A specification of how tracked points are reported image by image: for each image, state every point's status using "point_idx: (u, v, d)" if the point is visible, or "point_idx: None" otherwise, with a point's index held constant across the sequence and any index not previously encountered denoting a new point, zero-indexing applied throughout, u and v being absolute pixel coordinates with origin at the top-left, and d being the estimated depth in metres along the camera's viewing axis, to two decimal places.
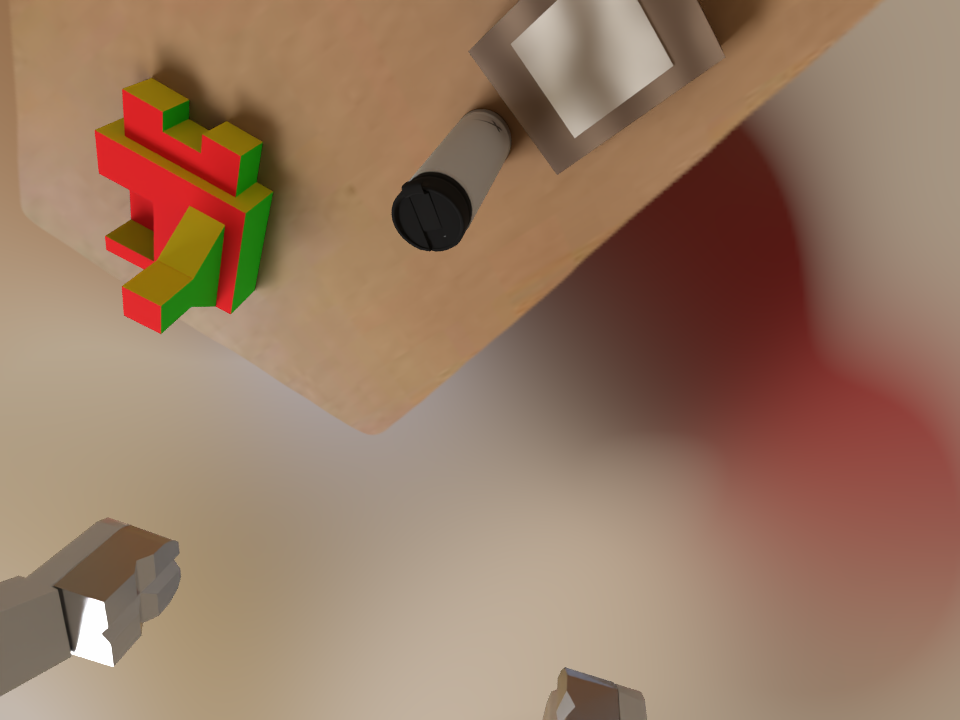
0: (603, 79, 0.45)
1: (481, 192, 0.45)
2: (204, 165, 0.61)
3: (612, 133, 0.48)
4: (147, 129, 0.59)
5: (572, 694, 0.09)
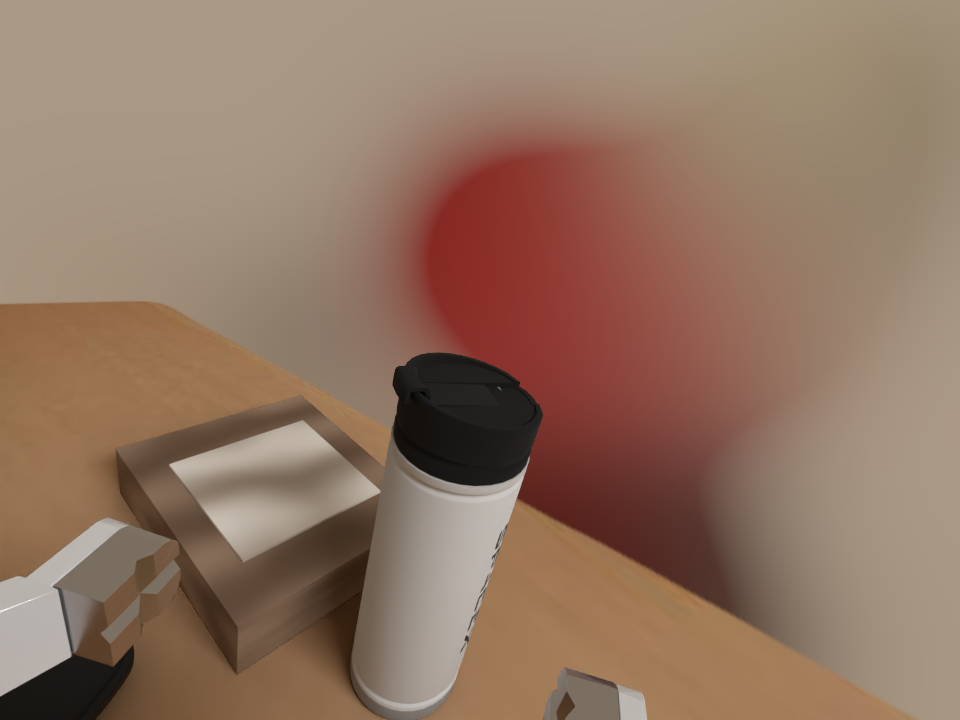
0: (309, 466, 0.37)
1: None
2: None
3: (373, 460, 0.39)
4: None
5: (572, 694, 0.09)
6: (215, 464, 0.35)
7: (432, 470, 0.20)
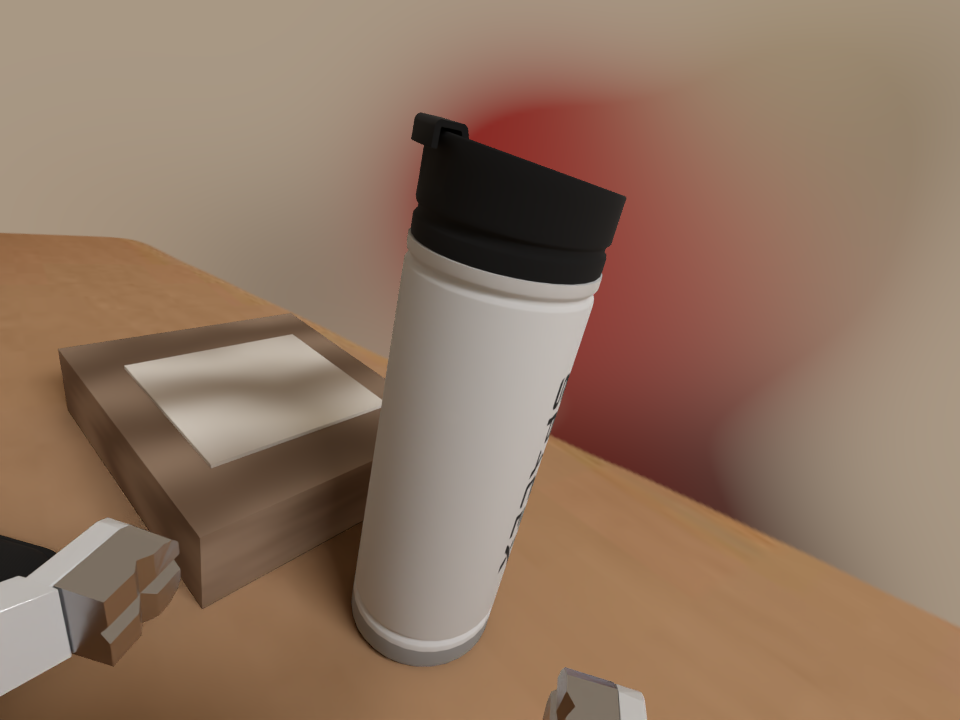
0: (299, 376, 0.30)
1: None
2: None
3: (376, 375, 0.33)
4: None
5: (572, 694, 0.09)
6: (183, 368, 0.28)
7: (473, 256, 0.13)
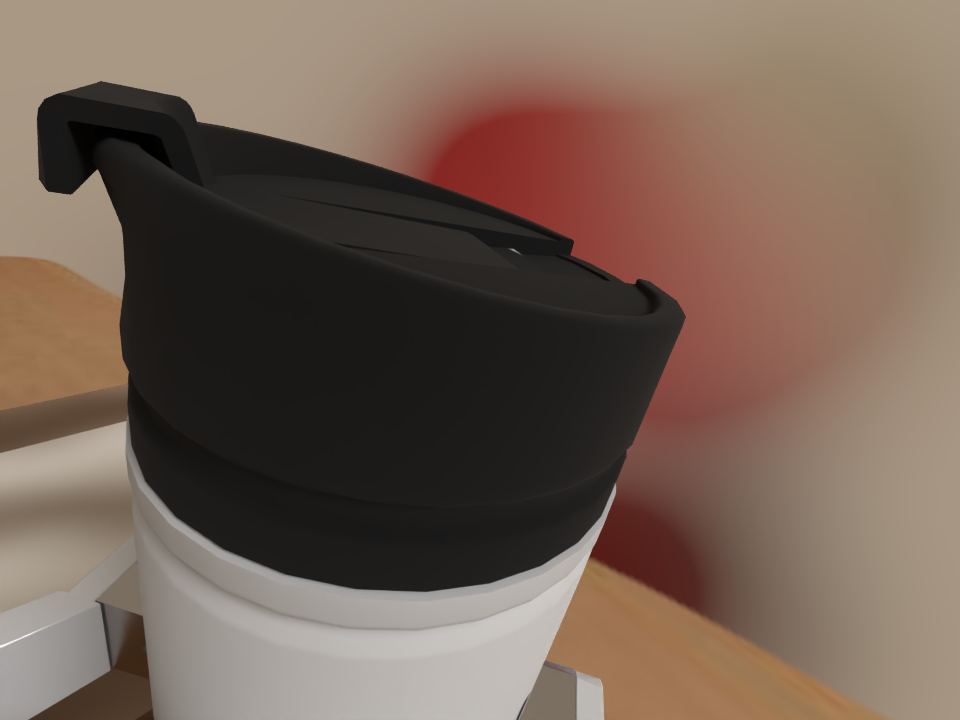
0: None
1: None
2: None
3: None
4: None
5: None
6: None
7: (222, 525, 0.04)
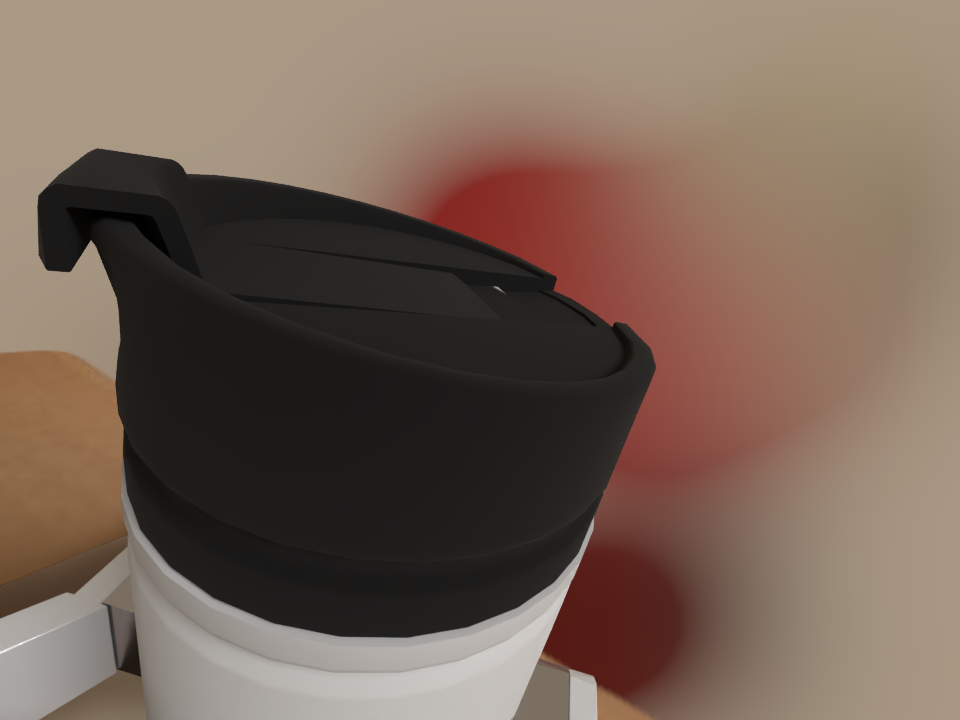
0: None
1: None
2: None
3: None
4: None
5: None
6: None
7: (212, 577, 0.05)
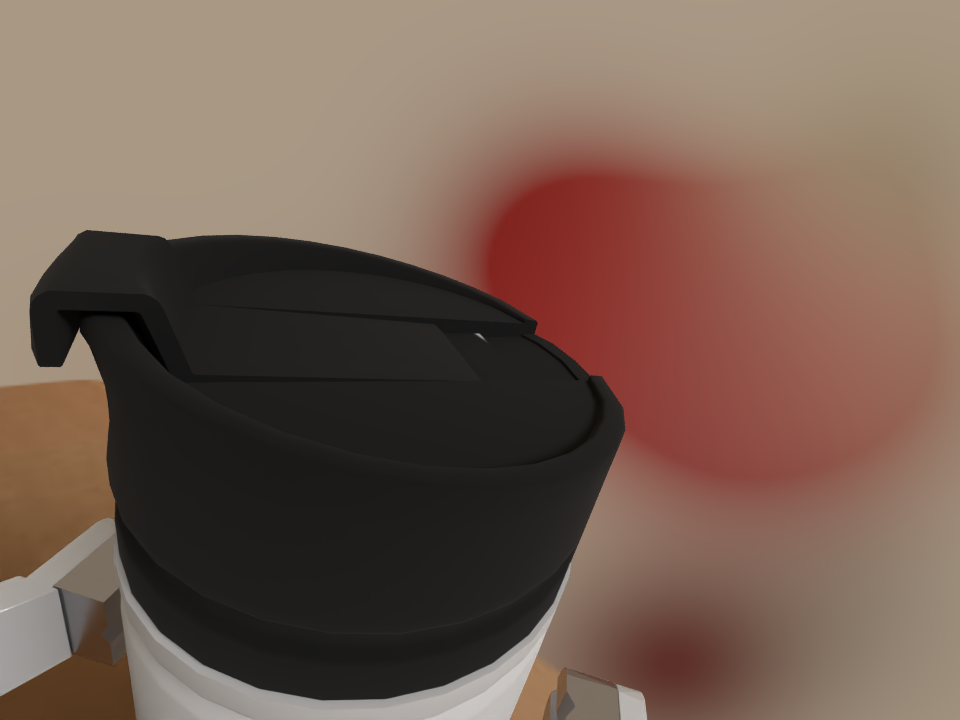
0: None
1: None
2: None
3: None
4: None
5: (572, 694, 0.09)
6: None
7: (200, 646, 0.05)
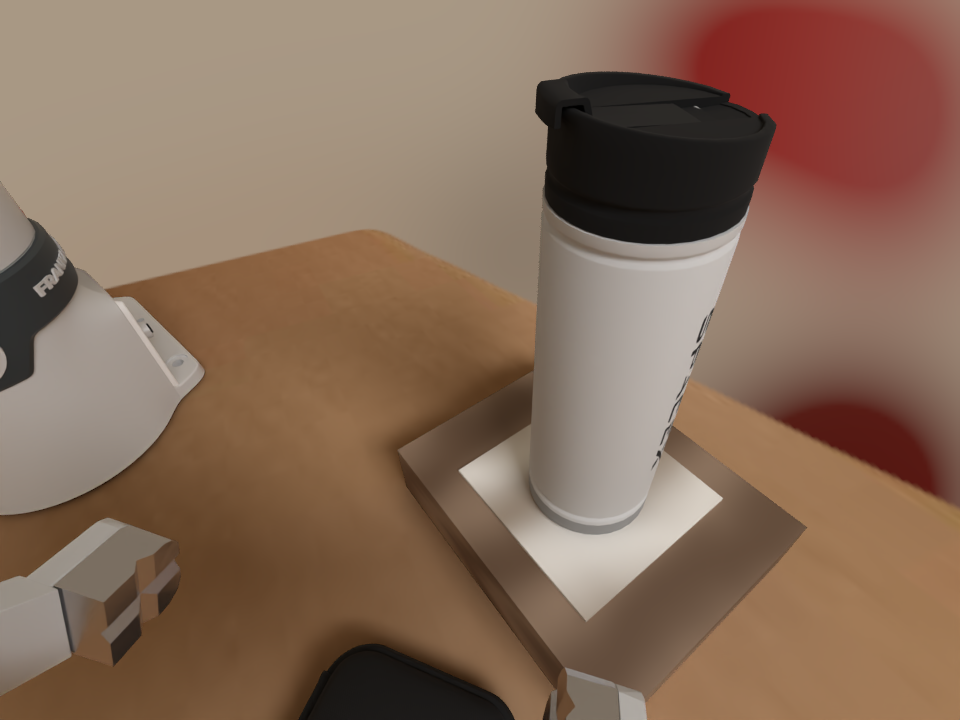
0: None
1: None
2: None
3: (694, 445, 0.29)
4: None
5: (572, 694, 0.09)
6: (508, 467, 0.29)
7: (604, 227, 0.14)
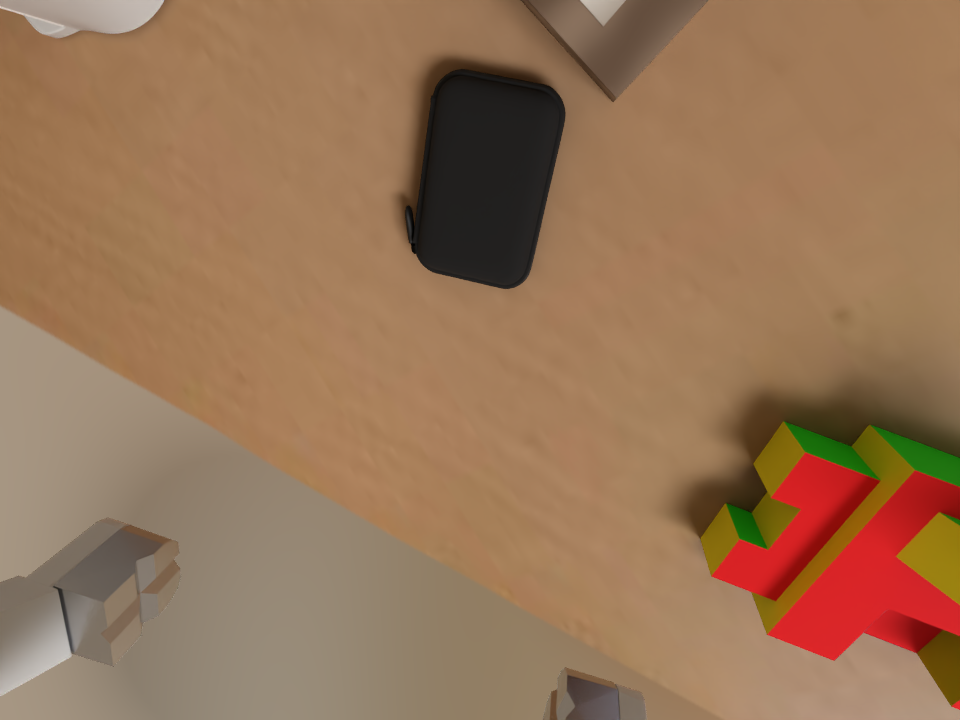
0: None
1: None
2: (821, 510, 0.40)
3: None
4: (765, 568, 0.43)
5: (572, 694, 0.09)
6: None
7: None
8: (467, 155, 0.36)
